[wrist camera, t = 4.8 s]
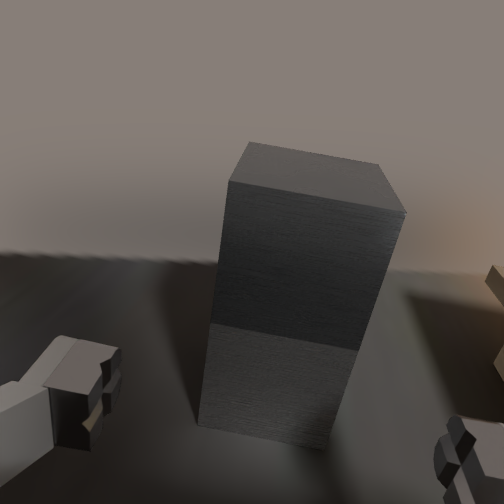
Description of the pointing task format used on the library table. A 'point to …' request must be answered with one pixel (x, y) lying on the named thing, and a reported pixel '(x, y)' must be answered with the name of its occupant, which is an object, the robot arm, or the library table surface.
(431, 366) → the library table surface
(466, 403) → the library table surface
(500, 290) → the birch stand
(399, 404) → the library table surface
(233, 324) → the block
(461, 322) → the library table surface
